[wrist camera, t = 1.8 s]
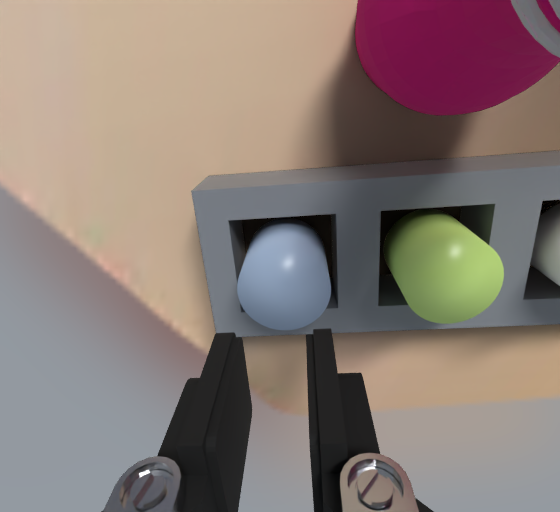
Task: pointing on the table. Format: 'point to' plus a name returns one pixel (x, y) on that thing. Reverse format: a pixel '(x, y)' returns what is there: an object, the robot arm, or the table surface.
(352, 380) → the robot arm
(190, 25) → the table surface
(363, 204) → the panel
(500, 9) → the pepper mill
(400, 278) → the lime button
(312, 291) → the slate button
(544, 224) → the white rounded piece
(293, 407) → the table surface
